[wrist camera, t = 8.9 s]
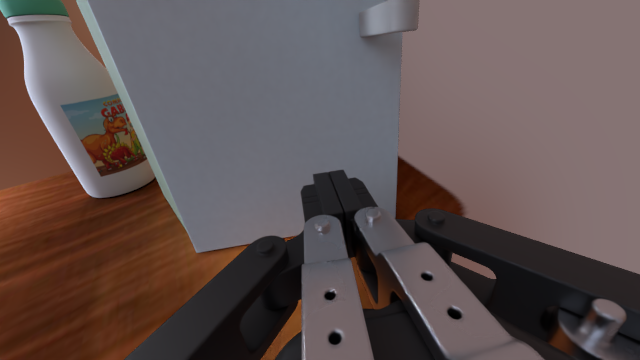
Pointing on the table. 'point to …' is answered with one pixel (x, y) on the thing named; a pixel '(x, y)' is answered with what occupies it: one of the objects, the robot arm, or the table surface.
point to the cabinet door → (261, 102)
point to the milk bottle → (77, 100)
